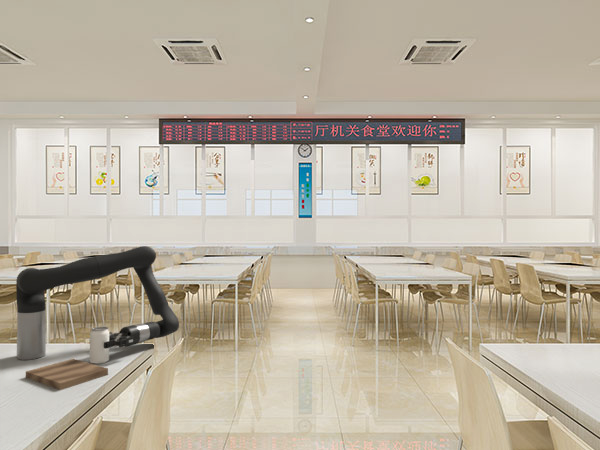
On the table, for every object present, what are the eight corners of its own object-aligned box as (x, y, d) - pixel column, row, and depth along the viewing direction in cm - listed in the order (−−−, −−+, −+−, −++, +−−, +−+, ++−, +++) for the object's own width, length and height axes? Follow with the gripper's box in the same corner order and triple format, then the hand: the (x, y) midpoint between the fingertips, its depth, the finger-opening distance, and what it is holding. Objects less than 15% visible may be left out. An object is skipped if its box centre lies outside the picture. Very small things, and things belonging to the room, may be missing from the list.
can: (101, 364, 155) (101, 331, 155) (85, 363, 156) (85, 330, 156) (112, 359, 161) (113, 327, 161) (97, 358, 162) (97, 326, 162)
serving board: (25, 377, 142) (25, 371, 142) (73, 364, 155) (73, 358, 155) (60, 390, 131) (60, 383, 131) (107, 374, 145) (107, 368, 145)
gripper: (123, 322, 175) (85, 331, 162) (146, 327, 168) (109, 336, 154) (123, 341, 175) (85, 351, 161) (146, 346, 168) (109, 357, 154)
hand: (97, 343), depth 158 cm, fingers open, 8 cm apart
